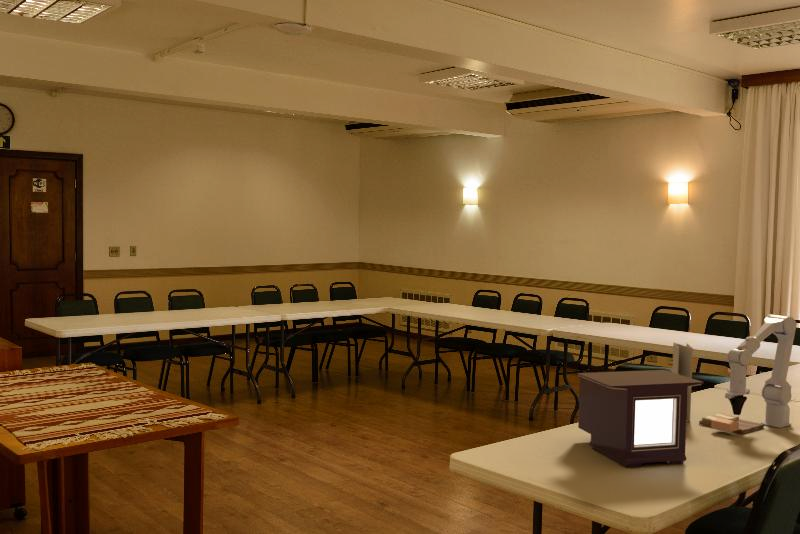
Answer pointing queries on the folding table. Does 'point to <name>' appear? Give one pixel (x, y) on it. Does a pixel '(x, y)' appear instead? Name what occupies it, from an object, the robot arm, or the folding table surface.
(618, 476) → the folding table surface
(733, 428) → the orange rectangular block
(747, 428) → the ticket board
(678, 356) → the brochure
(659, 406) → the brown box television
